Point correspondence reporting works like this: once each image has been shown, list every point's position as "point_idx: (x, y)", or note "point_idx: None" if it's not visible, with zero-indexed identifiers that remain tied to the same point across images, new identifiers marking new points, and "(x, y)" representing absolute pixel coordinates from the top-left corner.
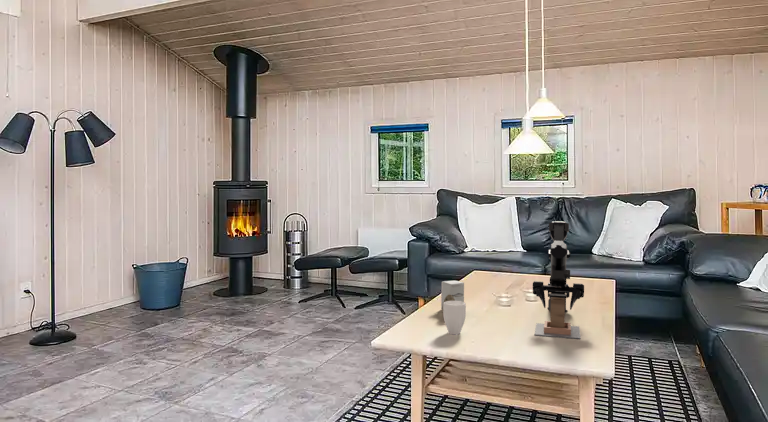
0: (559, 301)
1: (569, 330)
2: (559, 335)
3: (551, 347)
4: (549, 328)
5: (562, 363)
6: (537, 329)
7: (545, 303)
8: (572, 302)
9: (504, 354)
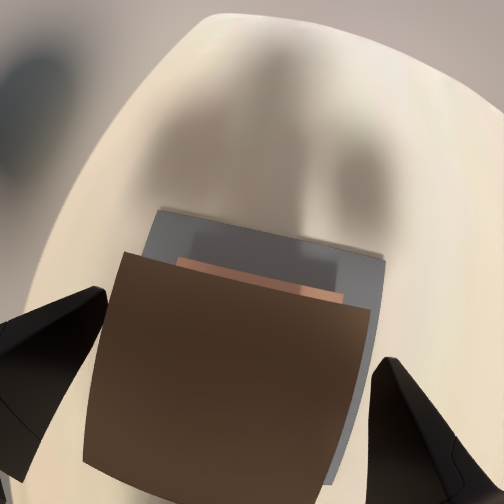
0: (212, 278)
1: (188, 259)
2: (254, 249)
3: (318, 109)
4: (308, 287)
5: (299, 30)
6: None
7: (392, 389)
8: (39, 313)
9: (436, 84)
